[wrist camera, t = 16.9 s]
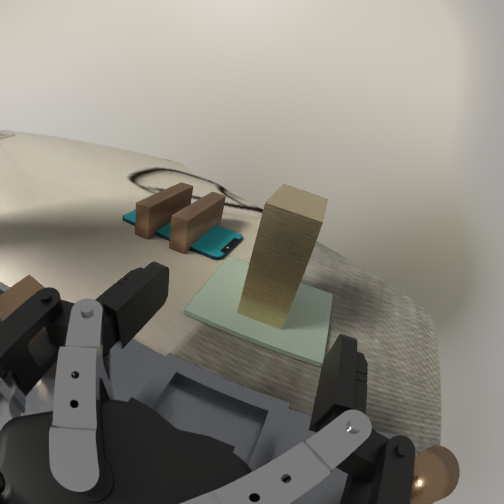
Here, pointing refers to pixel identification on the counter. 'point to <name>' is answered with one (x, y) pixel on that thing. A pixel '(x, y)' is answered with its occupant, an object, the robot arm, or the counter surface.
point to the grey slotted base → (224, 411)
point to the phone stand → (179, 215)
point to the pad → (280, 340)
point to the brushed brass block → (281, 254)
